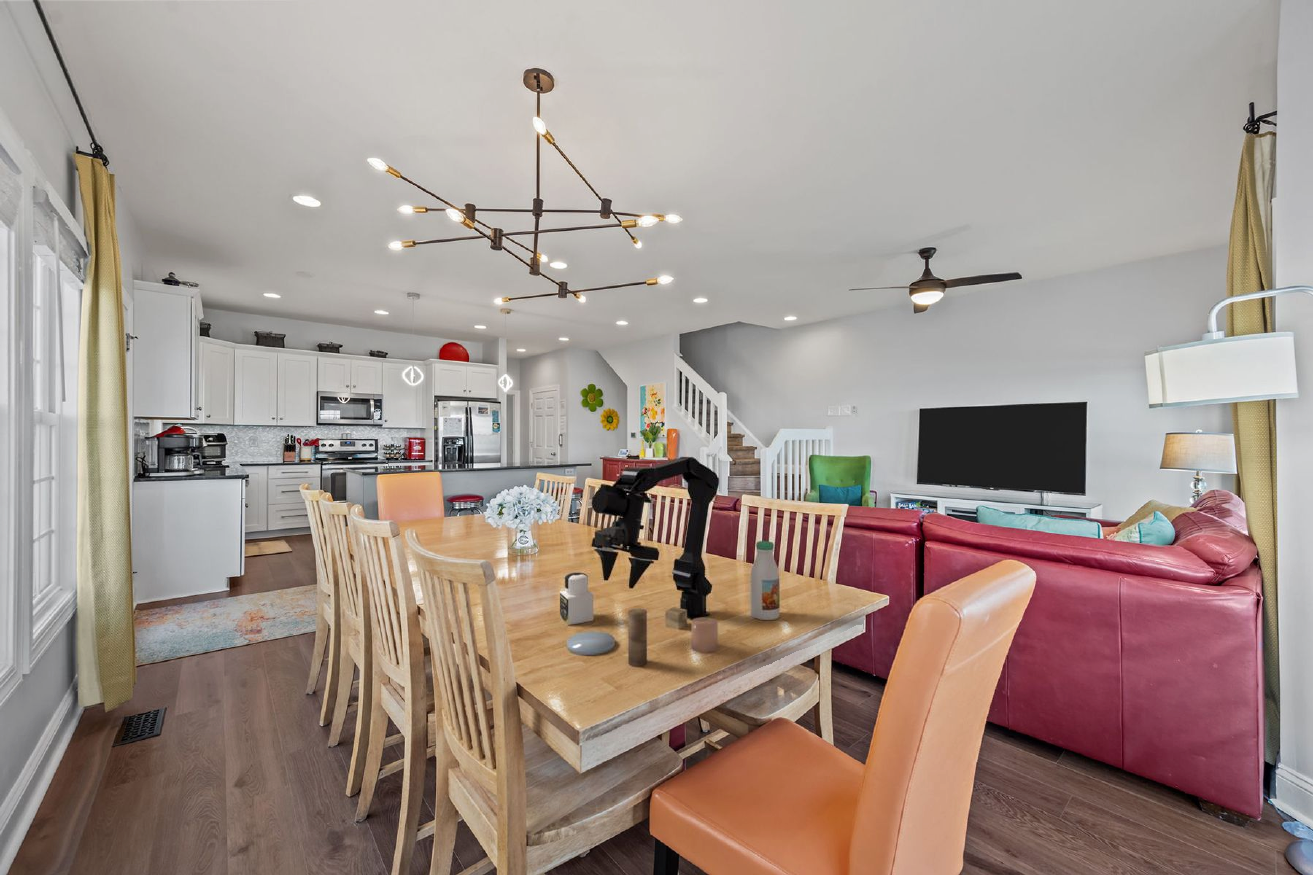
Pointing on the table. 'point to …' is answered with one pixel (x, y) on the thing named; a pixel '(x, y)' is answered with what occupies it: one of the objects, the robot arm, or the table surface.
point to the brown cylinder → (637, 637)
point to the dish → (590, 643)
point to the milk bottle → (765, 584)
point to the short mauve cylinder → (704, 635)
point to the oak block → (676, 618)
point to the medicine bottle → (576, 600)
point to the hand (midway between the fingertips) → (617, 584)
